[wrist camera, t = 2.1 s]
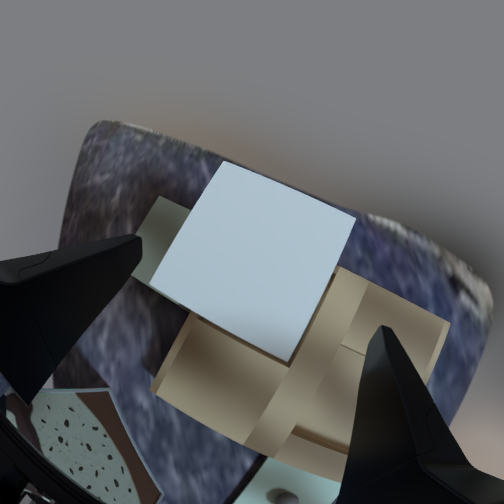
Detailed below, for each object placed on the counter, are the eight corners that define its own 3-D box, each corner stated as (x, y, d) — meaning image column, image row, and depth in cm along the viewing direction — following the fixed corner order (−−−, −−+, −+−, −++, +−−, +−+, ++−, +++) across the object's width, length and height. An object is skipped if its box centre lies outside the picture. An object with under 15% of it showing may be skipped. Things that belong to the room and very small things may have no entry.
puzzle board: (306, 534, 13) (308, 548, 11) (62, 393, 17) (47, 396, 15) (435, 325, 17) (450, 323, 15) (165, 193, 21) (155, 180, 19)
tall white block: (281, 343, 17) (287, 362, 6) (224, 313, 18) (149, 283, 7) (311, 286, 18) (355, 218, 7) (254, 257, 19) (223, 160, 8)
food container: (53, 385, 18) (-41, 392, 8) (103, 368, 18) (-2, 376, 8) (115, 511, 14) (50, 563, 5) (174, 508, 14) (117, 581, 5)
